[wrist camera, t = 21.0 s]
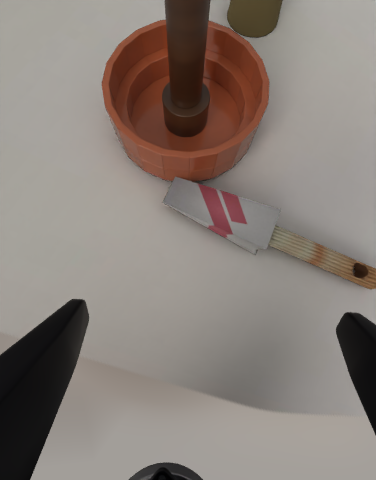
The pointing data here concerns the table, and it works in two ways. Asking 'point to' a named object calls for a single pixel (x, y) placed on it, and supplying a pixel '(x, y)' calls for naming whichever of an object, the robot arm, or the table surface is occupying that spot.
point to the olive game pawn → (254, 16)
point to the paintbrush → (258, 228)
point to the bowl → (151, 107)
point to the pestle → (186, 67)
